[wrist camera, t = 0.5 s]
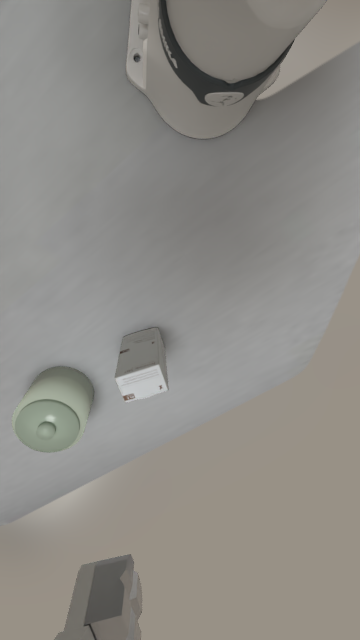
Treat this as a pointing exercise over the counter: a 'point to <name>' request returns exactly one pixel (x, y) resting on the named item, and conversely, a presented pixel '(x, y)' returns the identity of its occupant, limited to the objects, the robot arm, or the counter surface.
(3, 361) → the counter surface
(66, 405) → the sage canister
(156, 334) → the skincare box
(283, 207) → the counter surface
